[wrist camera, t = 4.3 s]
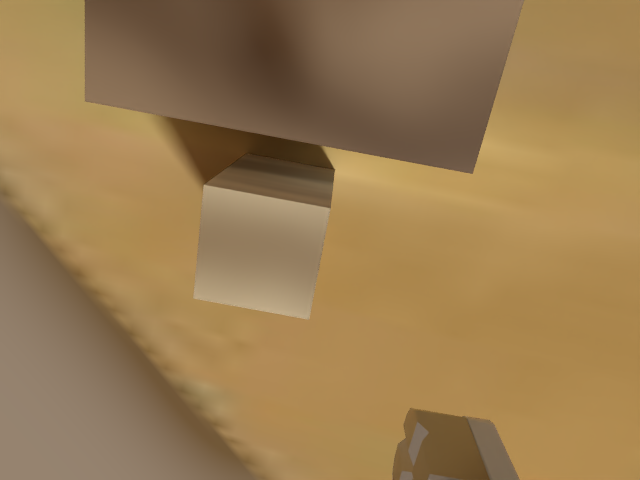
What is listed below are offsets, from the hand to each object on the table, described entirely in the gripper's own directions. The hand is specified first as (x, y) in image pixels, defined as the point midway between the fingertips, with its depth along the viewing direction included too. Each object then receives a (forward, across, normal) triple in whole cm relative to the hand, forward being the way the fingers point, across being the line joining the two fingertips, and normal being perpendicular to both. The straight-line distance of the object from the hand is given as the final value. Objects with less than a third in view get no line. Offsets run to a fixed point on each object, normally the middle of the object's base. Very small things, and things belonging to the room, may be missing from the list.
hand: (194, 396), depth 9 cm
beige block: (+13, 0, 0) cm, 13 cm away
